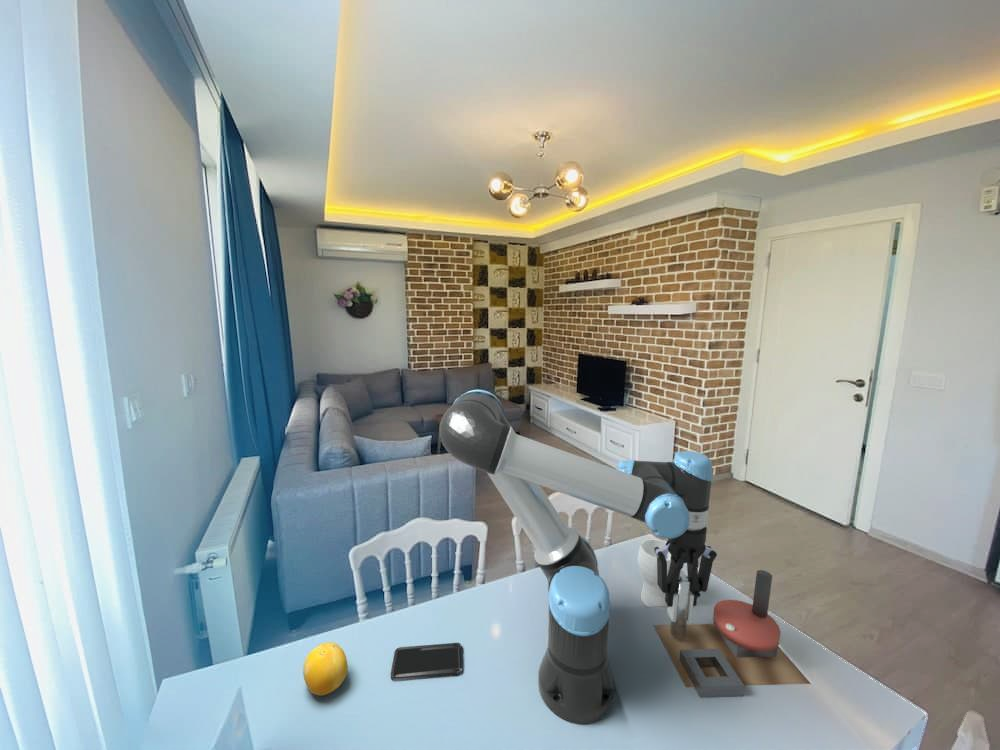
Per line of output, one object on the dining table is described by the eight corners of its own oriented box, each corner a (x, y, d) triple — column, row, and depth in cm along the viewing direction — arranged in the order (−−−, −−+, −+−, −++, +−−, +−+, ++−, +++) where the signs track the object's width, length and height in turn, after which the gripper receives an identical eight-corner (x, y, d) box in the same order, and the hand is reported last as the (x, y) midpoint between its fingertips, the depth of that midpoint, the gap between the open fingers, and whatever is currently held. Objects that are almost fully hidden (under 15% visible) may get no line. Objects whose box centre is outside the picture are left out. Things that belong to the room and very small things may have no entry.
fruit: (357, 679, 84) (355, 646, 83) (323, 712, 77) (320, 676, 76) (330, 660, 89) (327, 628, 87) (295, 690, 82) (292, 655, 80)
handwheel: (700, 617, 95) (705, 571, 93) (736, 600, 101) (741, 556, 99) (755, 660, 84) (762, 608, 82) (792, 638, 89) (799, 589, 87)
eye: (700, 697, 79) (701, 686, 79) (679, 659, 88) (680, 649, 87) (742, 696, 79) (744, 685, 79) (718, 658, 88) (719, 648, 88)
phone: (462, 672, 85) (389, 678, 84) (462, 677, 85) (389, 683, 84) (461, 641, 93) (395, 647, 91) (462, 646, 93) (395, 651, 91)
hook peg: (674, 639, 91) (679, 580, 89) (664, 622, 96) (669, 566, 94) (687, 638, 92) (693, 580, 89) (677, 622, 97) (682, 566, 94)
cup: (670, 588, 112) (674, 539, 110) (683, 617, 102) (688, 563, 99) (631, 585, 113) (634, 536, 111) (640, 614, 103) (644, 560, 100)
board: (685, 693, 82) (687, 674, 81) (652, 630, 97) (654, 614, 97) (809, 689, 83) (812, 670, 82) (757, 628, 98) (759, 612, 98)
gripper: (659, 532, 85) (651, 630, 88) (733, 531, 85) (722, 629, 89) (645, 514, 92) (638, 605, 96) (714, 513, 93) (704, 604, 96)
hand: (679, 617), depth 92 cm, fingers closed on hook peg, 3 cm apart
